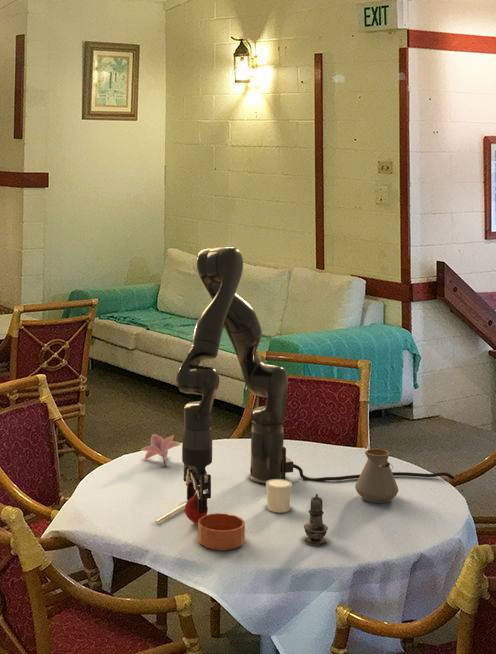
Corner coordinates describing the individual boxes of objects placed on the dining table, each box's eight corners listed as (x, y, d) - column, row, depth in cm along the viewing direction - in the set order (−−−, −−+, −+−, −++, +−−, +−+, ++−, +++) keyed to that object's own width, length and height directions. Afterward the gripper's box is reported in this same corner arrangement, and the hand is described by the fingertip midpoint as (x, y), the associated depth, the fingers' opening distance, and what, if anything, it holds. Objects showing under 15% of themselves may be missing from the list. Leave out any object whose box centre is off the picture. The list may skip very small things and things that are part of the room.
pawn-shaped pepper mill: (309, 534, 237) (311, 487, 235) (331, 540, 233) (333, 492, 232) (298, 542, 232) (300, 494, 230) (321, 548, 229) (322, 499, 227)
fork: (150, 522, 244) (151, 515, 243) (194, 499, 260) (194, 492, 260) (161, 525, 242) (161, 518, 241) (204, 502, 258) (204, 495, 258)
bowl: (234, 530, 239) (234, 511, 238) (251, 548, 228) (252, 528, 228) (191, 535, 236) (191, 515, 235) (207, 554, 225) (207, 533, 224)
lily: (187, 463, 292) (179, 432, 295) (181, 460, 281) (172, 428, 284) (149, 474, 293) (141, 443, 296) (142, 471, 282) (134, 439, 285)
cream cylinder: (274, 515, 249) (275, 489, 248) (260, 506, 255) (260, 480, 254) (296, 510, 252) (297, 485, 251) (281, 502, 258) (282, 477, 257)
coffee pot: (351, 490, 267) (353, 437, 265) (393, 491, 267) (395, 438, 265) (364, 519, 246) (366, 463, 244) (409, 520, 246) (412, 464, 244)
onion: (205, 528, 240) (206, 497, 239) (182, 526, 241) (183, 496, 240) (209, 520, 246) (209, 489, 245) (186, 518, 247) (187, 488, 246)
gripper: (221, 451, 235) (220, 515, 237) (202, 434, 248) (201, 495, 251) (192, 454, 233) (191, 518, 235) (174, 437, 246) (173, 498, 248)
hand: (196, 506), depth 243 cm, fingers open, 8 cm apart
